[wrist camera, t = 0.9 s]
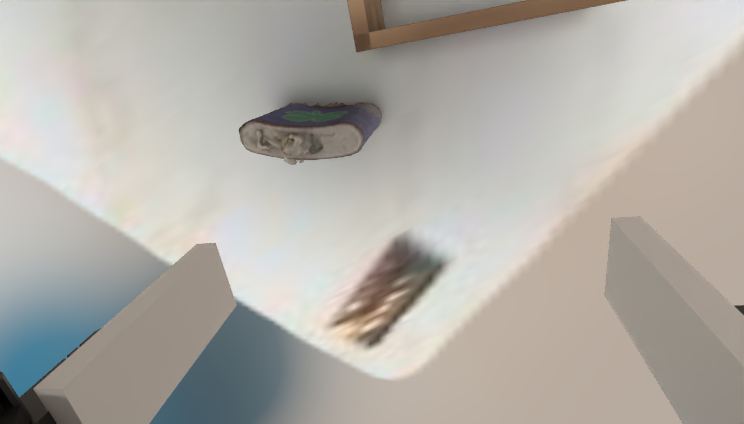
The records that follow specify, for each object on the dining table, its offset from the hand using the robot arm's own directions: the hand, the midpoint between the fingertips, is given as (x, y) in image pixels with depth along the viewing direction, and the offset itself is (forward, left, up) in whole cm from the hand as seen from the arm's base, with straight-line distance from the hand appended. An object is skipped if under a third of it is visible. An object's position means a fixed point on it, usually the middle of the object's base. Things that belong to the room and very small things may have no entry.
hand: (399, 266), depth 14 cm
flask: (-2, -8, -24) cm, 25 cm away
